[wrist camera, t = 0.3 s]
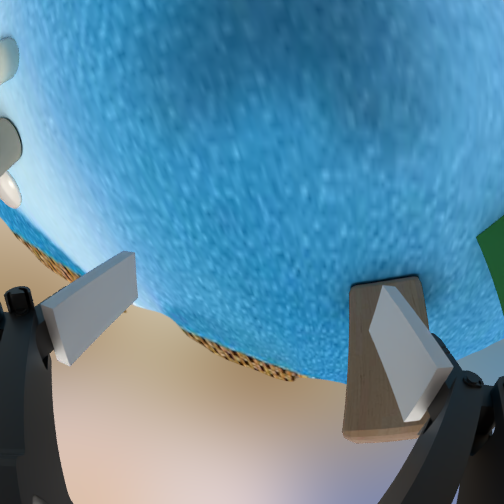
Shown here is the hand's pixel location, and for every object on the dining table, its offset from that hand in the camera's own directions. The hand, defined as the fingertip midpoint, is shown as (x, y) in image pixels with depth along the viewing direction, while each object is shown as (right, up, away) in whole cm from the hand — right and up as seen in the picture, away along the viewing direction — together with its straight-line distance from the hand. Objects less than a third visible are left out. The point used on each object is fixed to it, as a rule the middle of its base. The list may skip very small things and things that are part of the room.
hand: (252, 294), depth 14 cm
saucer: (-45, +14, +20) cm, 51 cm away
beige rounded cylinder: (-30, +26, +2) cm, 40 cm away
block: (+19, -4, +22) cm, 30 cm away
